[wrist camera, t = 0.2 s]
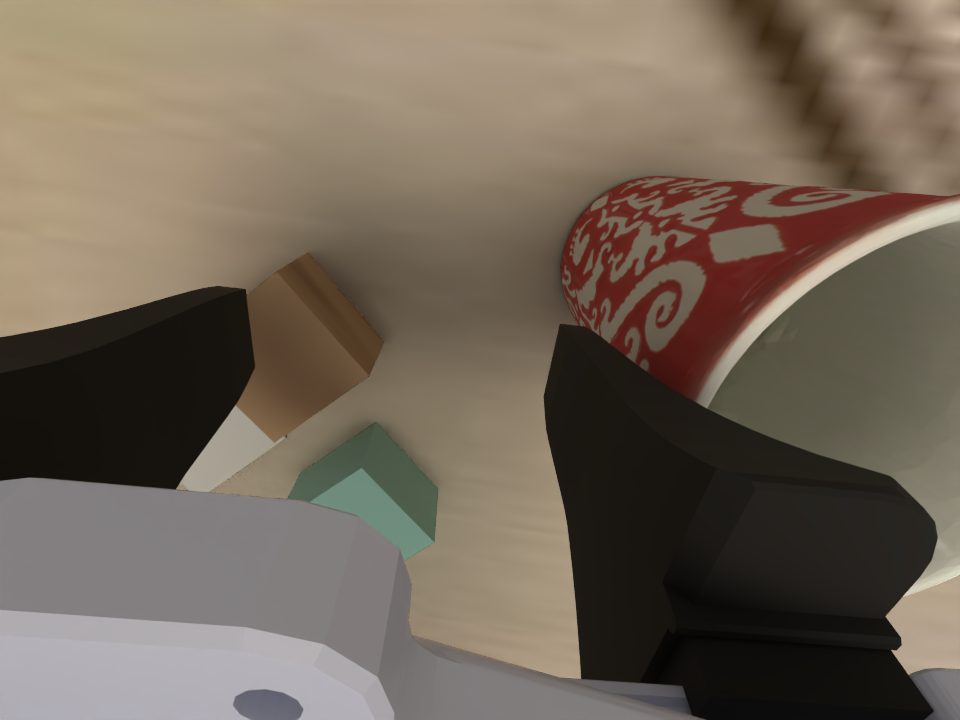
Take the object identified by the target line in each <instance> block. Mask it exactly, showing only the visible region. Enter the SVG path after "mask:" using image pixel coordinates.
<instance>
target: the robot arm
mask: <svg viewBox="0 0 960 720" xmlns="http://www.w3.org/2000/svg"><path fill="white" fill-rule="evenodd" d="M254 369H255V360H254V352H253V344H252V336H251V328H250V321H249V313H248V305H247V297H246V289H239V288H230V287H221V286H215V287H207V288H202V289H198V290H193V291H189V292H186V293H182V294H178V295H175V296H171V297H168V298H164V299H161V300H157V301H154V302H151V303H147V304H144V305H140V306H137V307H133V308H130V309H126V310H122V311H119V312H115V313H111V314H107V315H103V316H99V317H96V318H92V319H88V320H84V321H80V322H76V323H72V324H68V325H63V326H59V327H54V328H49V329H44V330H39V331H34V332H28V333H23V334H18V335H12V336H6V337H0V720H960V670H959V669H945V668H932V669H924V670H920V671H917V672H914V673H911V674H910V675H908V674H907V672H906V671H905V669H904V668H903V667H902V665H901V664H900V662H899V661H898V660H897V658H896V657H895V655H894V654H893V653H892V651H891V650H897V649H898V648H899V647H900V646H901V645H902V644H901V637H900V636H899V634H898V633H897V632H896V630H895V629H894V628H893V626H892V625H891V624H890V622H889V621H888V620H887V618H886V617H885V616H886V615H887V614H888V613H889V612H890V610H891V609H892V608H893V607H894V606H895V605H896V604H897V603H898V601H899V600H900V599H901V598H902V597H903V596H904V595H905V593H906V592H907V591H908V590H909V589H910V588H911V587H912V586H913V584H914V583H915V582H916V581H917V580H918V579H919V578H920V577H921V575H922V574H923V572H924V571H925V569H926V568H927V566H928V565H929V563H930V562H931V561H932V558H933V554H934V551H935V547H936V543H937V540H938V535H937V530H936V524H935V521H934V520H933V519H932V517H931V516H930V515H929V514H928V512H927V511H926V510H925V508H924V507H923V506H922V505H921V504H920V503H918V502H917V501H916V500H915V499H914V498H913V497H912V496H911V495H910V494H909V493H908V492H907V491H906V490H905V489H904V488H903V487H902V486H901V485H900V484H899V483H898V482H897V481H896V480H895V479H894V478H892V477H891V476H889V475H886V474H882V473H879V472H876V471H872V470H869V469H865V468H862V467H859V466H855V465H852V464H849V463H845V462H842V461H838V460H835V459H832V458H828V457H825V456H821V455H818V454H815V453H812V452H810V451H807V450H804V449H801V448H799V447H796V446H793V445H790V444H787V443H785V442H782V441H779V440H777V439H774V438H772V437H769V436H767V435H764V434H762V433H759V432H757V431H754V430H752V429H750V428H747V427H745V426H743V425H741V424H739V423H736V422H734V421H732V420H730V419H728V418H725V417H723V416H721V415H719V414H717V413H715V412H713V411H711V410H709V409H707V408H705V407H703V406H702V405H700V404H698V403H696V402H694V401H693V400H691V399H689V398H687V397H685V396H684V395H682V394H680V393H679V392H677V391H675V390H674V389H672V388H670V387H669V386H667V385H666V384H664V383H663V382H661V381H660V380H658V379H657V378H655V377H654V376H652V375H651V374H649V373H648V372H647V371H645V370H644V369H642V368H641V367H640V366H638V365H637V364H636V363H634V362H633V361H632V360H630V359H629V358H628V357H626V356H625V355H624V354H623V353H621V352H620V351H619V350H617V349H616V348H615V347H614V346H612V345H611V344H610V343H608V342H607V341H606V340H605V339H603V338H602V337H601V336H599V335H598V334H597V333H595V332H594V331H592V330H591V329H589V328H587V327H584V326H575V325H566V324H560V326H559V331H558V335H557V339H556V344H555V348H554V353H553V357H552V362H551V366H550V371H549V375H548V380H547V384H546V388H545V393H544V407H545V420H546V431H547V435H548V440H549V444H550V449H551V453H552V457H553V462H554V466H555V470H556V474H557V479H558V483H559V487H560V491H561V496H562V500H563V504H564V509H565V514H566V520H567V525H568V534H569V542H570V551H571V560H572V569H573V580H574V590H575V600H576V611H577V625H578V638H579V651H580V665H581V679H572V678H559V677H556V676H552V675H549V674H545V673H542V672H538V671H535V670H531V669H528V668H525V667H521V666H518V665H514V664H511V663H507V662H504V661H500V660H497V659H493V658H490V657H486V656H483V655H479V654H476V653H472V652H469V651H466V650H462V649H459V648H455V647H452V646H448V645H445V644H441V643H438V642H434V641H431V640H427V639H424V638H420V637H417V636H413V635H411V631H410V624H409V613H410V601H411V588H412V584H411V581H410V578H409V575H408V572H407V569H406V566H405V563H404V560H403V557H402V554H401V551H400V548H398V547H397V546H396V545H394V544H393V543H392V542H391V541H389V540H388V539H387V538H385V537H384V536H383V535H382V534H380V533H379V532H378V531H376V530H375V529H374V528H373V527H371V526H370V525H369V524H367V523H366V522H365V521H363V520H362V519H361V518H360V517H358V516H357V515H355V514H352V513H348V512H344V511H341V510H337V509H333V508H329V507H326V506H322V505H318V504H315V503H311V502H307V501H303V500H291V499H280V498H268V497H257V496H245V495H233V494H222V493H210V492H198V491H187V490H176V488H177V487H178V485H179V484H180V482H181V481H182V479H183V477H184V476H185V474H186V473H187V472H188V470H189V469H190V467H191V466H192V465H193V463H194V462H195V461H196V459H197V458H198V457H199V455H200V454H201V452H202V451H203V450H204V448H205V447H206V446H207V444H208V443H209V441H210V440H211V439H212V437H213V436H214V435H215V433H216V432H217V431H218V429H219V428H220V426H221V425H222V424H223V422H224V421H225V419H226V418H227V417H228V415H229V414H230V412H231V411H232V410H233V408H234V407H235V405H236V404H237V402H238V401H239V399H240V397H241V395H242V394H243V392H244V390H245V388H246V386H247V384H248V382H249V380H250V377H251V375H252V373H253V371H254Z"/></svg>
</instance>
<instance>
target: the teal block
mask: <svg viewBox="0 0 960 720" xmlns="http://www.w3.org/2000/svg"><path fill="white" fill-rule="evenodd" d="M437 498H438V489H437V488H436V486H435V485H434V484H433V483H432V482H431V481H430V480H429V479H428V478H427V477H426V476H425V474H424V473H423V472H422V471H421V470H420V469H419V468H418V467H417V466H416V465H415V464H414V462H413V461H412V460H411V459H410V458H409V457H408V456H407V455H406V454H405V453H404V452H403V450H402V449H401V448H400V447H399V446H398V445H397V444H396V443H395V442H394V441H393V440H392V439H391V437H390V436H389V435H388V434H387V433H386V432H385V431H384V430H383V429H382V428H381V427H380V425H379V424H378V423H377V422H375V423H374V424H372V425H371V426H369V427H368V428H366V429H365V430H364V431H362V432H361V433H359V434H358V435H356V436H355V437H353V438H352V439H350V440H349V441H347V442H346V443H344V444H343V445H341V446H340V447H338V448H337V449H335V450H334V451H332V452H331V453H329V454H328V455H326V456H325V457H323V458H322V459H320V460H319V461H317V462H316V463H314V464H313V465H312V466H310V467H309V468H307V469H306V470H304V471H303V472H301V473H300V475H299V477H298V479H297V481H296V483H295V485H294V487H293V489H292V491H291V493H290V494H289V496H288V498H287V499H291V500H303V501H307V502H311V503H315V504H318V505H322V506H326V507H329V508H333V509H337V510H341V511H344V512H348V513H352V514H355V515H357V516H358V517H360V518H361V519H362V520H363V521H365V522H366V523H367V524H369V525H370V526H371V527H373V528H374V529H375V530H376V531H378V532H379V533H380V534H382V535H383V536H384V537H385V538H387V539H388V540H389V541H391V542H392V543H393V544H394V545H396V546H397V547H398V548H400V551H401V554H402V557H403V560H406V559H408V558H409V557H411V556H413V555H414V554H416V553H418V552H419V551H421V550H423V549H424V548H426V547H428V546H430V545H431V544H433V543H434V542H435V527H436V513H437Z"/></svg>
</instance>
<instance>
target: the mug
mask: <svg viewBox="0 0 960 720" xmlns="http://www.w3.org/2000/svg"><path fill="white" fill-rule="evenodd" d="M561 275H562V286H563V290H564V295H565V298H566V301H567V303H568V306H569V309H570V311H571V313H572V315H573V316H574V318H575V320H576V321H577V323H578V325H579V326H584V327H587V328H589V329H591V330H592V331H594V332H595V333H597V334H598V335H599V336H601V337H602V338H603V339H605V340H606V341H607V342H608V343H610V344H611V345H612V346H614V347H615V348H616V349H617V350H619V351H620V352H621V353H623V354H624V355H625V356H626V357H628V358H629V359H630V360H632V361H633V362H634V363H636V364H637V365H638V366H640V367H641V368H642V369H644V370H645V371H647V372H648V373H649V374H651V375H652V376H654V377H655V378H657V379H658V380H660V381H661V382H663V383H664V384H666V385H667V386H669V387H670V388H672V389H674V390H675V391H677V392H679V393H680V394H682V395H684V396H685V397H687V398H689V399H691V400H693V401H694V402H696V403H698V404H700V405H702V406H703V407H705V408H707V409H709V410H711V411H713V412H715V413H717V414H719V415H721V416H723V417H725V418H728V419H730V420H732V421H734V422H736V423H739V424H741V425H743V426H745V427H747V428H750V429H752V430H754V431H757V432H759V433H762V434H764V435H767V436H769V437H772V438H774V439H777V440H779V441H782V442H785V443H787V444H790V445H793V446H796V447H799V448H801V449H804V450H807V451H810V452H812V453H815V454H818V455H821V456H825V457H828V458H832V459H835V460H838V461H842V462H845V463H849V464H852V465H855V466H859V467H862V468H865V469H869V470H872V471H876V472H879V473H882V474H886V475H889V476H891V477H892V478H894V479H895V480H896V481H897V482H898V483H899V484H900V485H901V486H902V487H903V488H904V489H905V490H906V491H907V492H908V493H909V494H910V495H911V496H912V497H913V498H914V499H915V500H916V501H917V502H918V503H920V504H921V505H922V506H923V507H924V508H925V510H926V511H927V512H928V514H929V515H930V516H931V517H932V519H933V520H934V521H935V524H936V530H937V535H938V540H937V543H936V547H935V551H934V554H933V558H932V561H931V562H930V563H929V565H928V566H927V568H926V569H925V571H924V572H923V574H922V575H921V577H920V578H919V579H918V580H917V581H916V582H915V583H914V584H913V586H912V587H911V588H910V589H909V590H908V591H907V592H906V593H905V595H904V596H908V595H911V594H914V593H917V592H920V591H922V590H925V589H928V588H930V587H933V586H936V585H938V584H940V583H943V582H945V581H947V580H949V579H952V578H954V577H956V576H958V575H960V194H957V195H953V196H936V195H923V194H911V193H892V192H881V191H875V190H853V189H844V188H825V187H811V186H790V185H777V184H767V183H752V182H744V181H723V180H708V179H696V178H682V177H669V176H653V177H646V178H640V179H636V180H633V181H629V182H627V183H624V184H622V185H619V186H618V187H616V188H614V189H612V190H610V191H608V192H607V193H605V194H604V195H603V196H602V197H600V198H599V199H597V200H596V201H595V202H594V203H593V204H592V205H591V206H590V207H589V208H588V209H587V210H586V211H585V212H584V214H583V215H582V216H581V217H580V218H579V220H578V221H577V223H576V224H575V226H574V228H573V230H572V232H571V234H570V235H569V238H568V241H567V243H566V246H565V250H564V254H563V259H562V266H561ZM904 596H903V597H904Z"/></svg>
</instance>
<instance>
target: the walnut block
mask: <svg viewBox="0 0 960 720" xmlns="http://www.w3.org/2000/svg"><path fill="white" fill-rule="evenodd" d="M246 297H247V305H248V313H249V321H250V328H251V336H252V344H253V352H254V360H255V369H254V371H253V373H252V375H251V377H250V380H249V382H248V384H247V386H246V388H245V390H244V392H243V394H242V395H241V397H240V399H239V401H238V402H237V404H236V406H237V407H238V408H239V409H240V410H241V411H242V412H243V413H244V414H245V415H246V416H247V417H248V418H249V419H250V420H251V421H252V422H253V423H254V424H255V425H256V426H257V427H258V428H259V429H261V430H262V431H263V432H264V433H265V434H266V435H267V436H268V437H269V438H270V439H271V440H272V441H273V442H274V443H275V442H276V441H278V440H279V439H280V438H282V437H283V436H285V435H286V434H288V433H289V432H290V431H292V430H293V429H295V428H296V427H298V426H299V425H300V424H302V423H303V422H305V421H306V420H308V419H309V418H310V417H312V416H313V415H315V414H316V413H318V412H319V411H320V410H322V409H323V408H325V407H326V406H327V405H329V404H330V403H332V402H333V401H335V400H336V399H337V398H339V397H340V396H342V395H343V394H345V393H346V392H347V391H349V390H350V389H352V388H353V387H355V386H356V385H357V384H359V383H360V382H362V381H363V380H364V379H366V378H367V377H369V375H370V373H371V371H372V368H373V366H374V364H375V361H376V359H377V357H378V354H379V352H380V350H381V347H382V345H383V343H384V341H383V340H382V339H381V337H380V336H379V335H378V334H377V333H376V332H375V330H374V329H373V328H372V327H371V326H370V324H369V323H368V322H367V321H366V320H365V319H364V317H363V316H362V315H361V314H360V313H359V312H358V310H357V309H356V308H355V307H354V306H353V305H352V303H351V302H350V301H349V300H348V299H347V297H346V296H345V295H344V294H343V293H342V292H341V290H340V289H339V288H338V287H337V286H336V285H335V283H334V282H333V281H332V280H331V279H330V277H329V276H328V275H327V274H326V273H325V272H324V270H323V269H322V268H321V267H320V266H319V265H318V263H317V262H316V261H315V260H314V259H313V257H312V256H311V255H310V254H309V253H306V254H305V255H303V256H302V257H300V258H298V259H297V260H295V261H293V262H292V263H290V264H288V265H287V266H285V267H284V268H282V269H280V270H279V271H277V272H276V273H274V274H273V275H272V276H271V277H269V278H268V279H267V280H266V281H264V282H263V283H262V284H261V285H259V286H258V287H257V288H256V289H254V290H253V291H252V292H250V293H249V294H248V295H247V296H246Z"/></svg>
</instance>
